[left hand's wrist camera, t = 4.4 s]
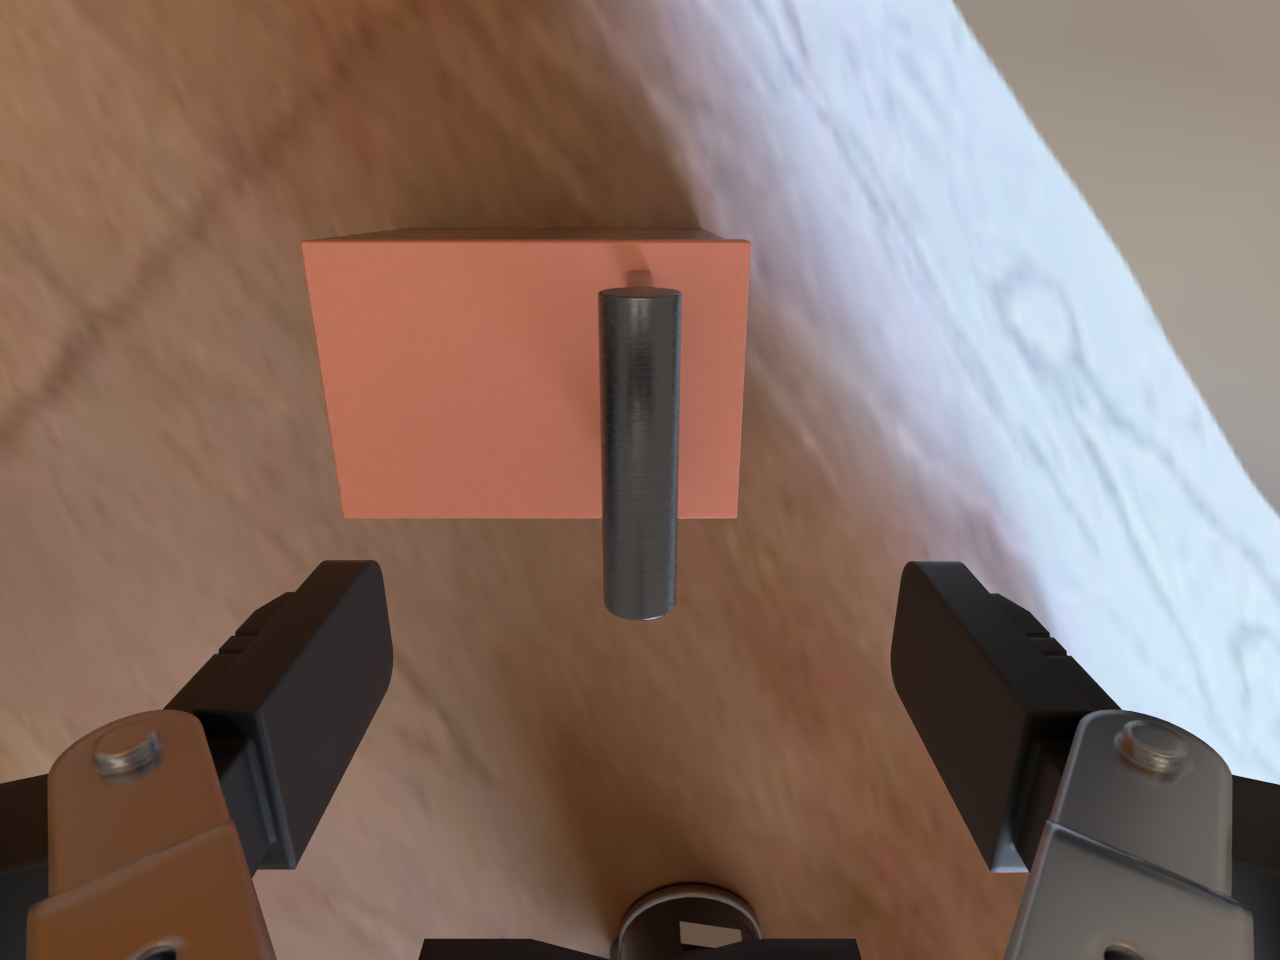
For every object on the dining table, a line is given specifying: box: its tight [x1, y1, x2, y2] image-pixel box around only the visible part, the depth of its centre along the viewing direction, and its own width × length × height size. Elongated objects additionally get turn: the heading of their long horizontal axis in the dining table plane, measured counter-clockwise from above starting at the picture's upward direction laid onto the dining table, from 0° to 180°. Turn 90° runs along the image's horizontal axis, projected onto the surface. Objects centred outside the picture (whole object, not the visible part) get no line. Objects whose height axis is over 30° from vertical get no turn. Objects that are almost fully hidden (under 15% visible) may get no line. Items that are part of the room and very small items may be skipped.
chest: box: [324, 228, 723, 239], centre depth 30 cm, size 14×9×10 cm
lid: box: [301, 239, 751, 620], centre depth 21 cm, size 14×10×9 cm
